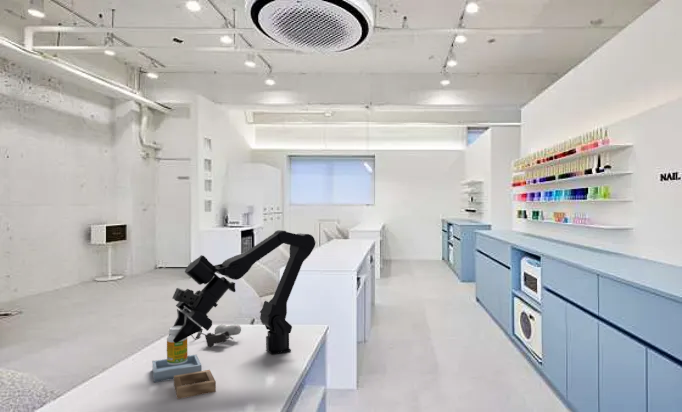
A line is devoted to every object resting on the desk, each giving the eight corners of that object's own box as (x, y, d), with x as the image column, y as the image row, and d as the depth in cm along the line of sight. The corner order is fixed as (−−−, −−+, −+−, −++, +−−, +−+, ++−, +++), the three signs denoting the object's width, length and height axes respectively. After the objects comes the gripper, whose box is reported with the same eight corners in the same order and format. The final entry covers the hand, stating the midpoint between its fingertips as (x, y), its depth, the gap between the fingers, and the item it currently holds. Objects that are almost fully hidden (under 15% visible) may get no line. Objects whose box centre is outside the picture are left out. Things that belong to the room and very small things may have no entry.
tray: (196, 362, 126) (196, 354, 126) (201, 374, 117) (201, 365, 117) (152, 369, 120) (152, 361, 120) (154, 382, 111) (154, 372, 111)
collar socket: (209, 378, 113) (209, 369, 113) (215, 391, 105) (215, 381, 105) (173, 385, 109) (173, 375, 109) (177, 399, 101) (177, 388, 101)
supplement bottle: (174, 367, 115) (173, 331, 115) (163, 363, 118) (162, 328, 118) (191, 361, 119) (191, 326, 119) (180, 357, 122) (180, 323, 123)
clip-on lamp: (184, 352, 145) (225, 346, 138) (179, 334, 145) (220, 327, 138) (207, 339, 156) (246, 333, 148) (203, 322, 156) (242, 316, 148)
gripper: (182, 273, 129) (143, 315, 123) (199, 281, 113) (155, 330, 107) (209, 295, 133) (172, 337, 127) (228, 306, 118) (188, 354, 111)
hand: (172, 339), depth 118 cm, fingers closed on supplement bottle, 5 cm apart
